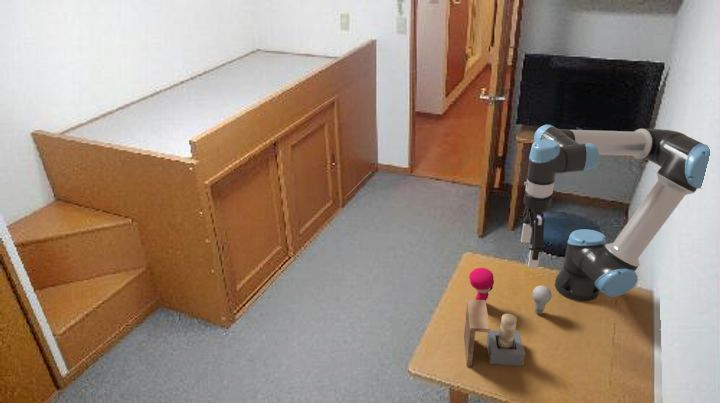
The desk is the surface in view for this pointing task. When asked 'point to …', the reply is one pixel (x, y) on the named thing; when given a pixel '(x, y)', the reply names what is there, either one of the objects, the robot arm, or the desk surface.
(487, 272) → the toy
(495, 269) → the desk surface
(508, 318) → the peg
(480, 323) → the wooden lipped block
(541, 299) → the lightbulb
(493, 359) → the socket
